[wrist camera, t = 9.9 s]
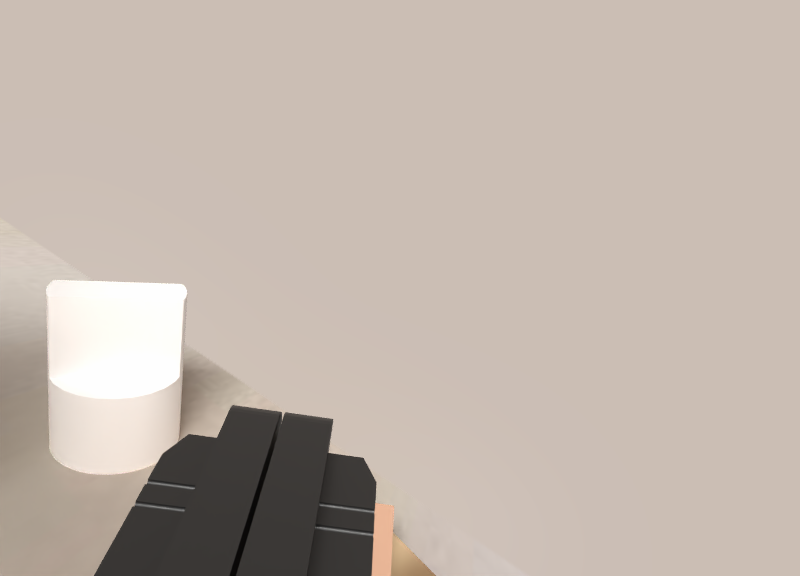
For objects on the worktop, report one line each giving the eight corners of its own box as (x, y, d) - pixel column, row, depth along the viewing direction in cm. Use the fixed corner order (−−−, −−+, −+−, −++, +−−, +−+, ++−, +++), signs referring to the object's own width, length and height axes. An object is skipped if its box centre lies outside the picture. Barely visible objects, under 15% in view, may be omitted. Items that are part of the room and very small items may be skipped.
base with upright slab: (177, 404, 56) (185, 270, 52) (181, 470, 48) (189, 317, 44) (57, 408, 52) (55, 265, 48) (39, 479, 45) (35, 315, 41)
